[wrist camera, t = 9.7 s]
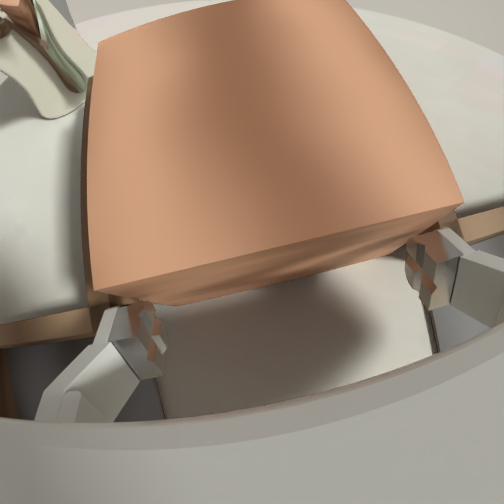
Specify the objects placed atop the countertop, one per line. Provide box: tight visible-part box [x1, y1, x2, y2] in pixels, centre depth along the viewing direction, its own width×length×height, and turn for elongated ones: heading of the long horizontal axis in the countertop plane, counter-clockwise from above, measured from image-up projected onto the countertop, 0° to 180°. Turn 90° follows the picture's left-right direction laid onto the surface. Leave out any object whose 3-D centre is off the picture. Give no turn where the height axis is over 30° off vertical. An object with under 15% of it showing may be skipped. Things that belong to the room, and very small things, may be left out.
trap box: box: [0, 75, 504, 422], centre depth 12 cm, size 35×33×3 cm
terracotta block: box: [87, 0, 464, 306], centre depth 12 cm, size 10×10×7 cm
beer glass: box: [0, 0, 97, 119], centre depth 11 cm, size 7×7×15 cm
